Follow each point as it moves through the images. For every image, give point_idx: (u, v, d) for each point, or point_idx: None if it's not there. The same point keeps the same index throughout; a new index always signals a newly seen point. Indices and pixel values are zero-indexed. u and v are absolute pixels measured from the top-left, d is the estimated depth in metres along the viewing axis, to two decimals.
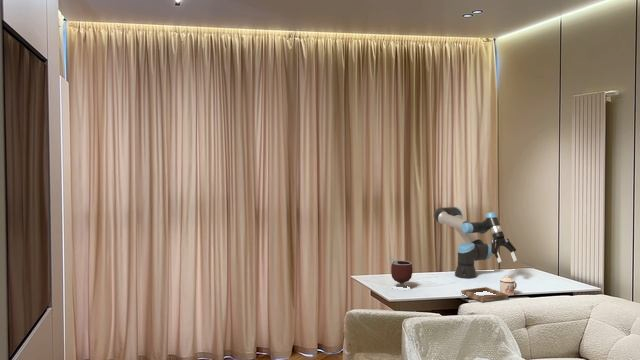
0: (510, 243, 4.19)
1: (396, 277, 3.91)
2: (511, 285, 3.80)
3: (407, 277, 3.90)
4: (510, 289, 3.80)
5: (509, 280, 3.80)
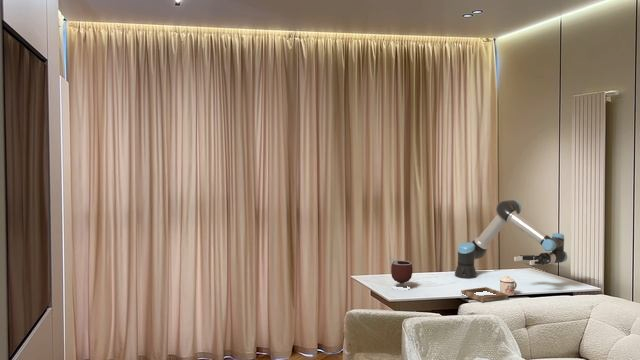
0: None
1: (396, 277, 3.91)
2: (511, 285, 3.80)
3: (407, 277, 3.90)
4: (510, 289, 3.80)
5: (509, 280, 3.80)
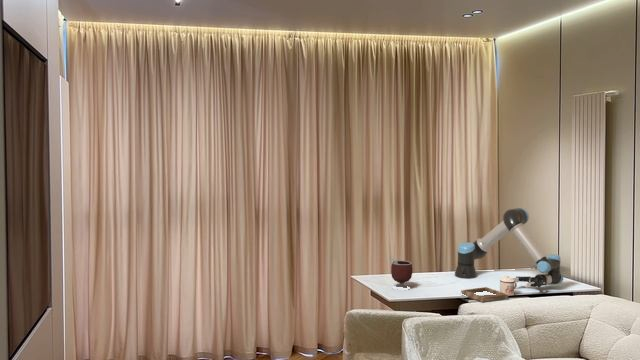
0: None
1: (396, 277, 3.91)
2: (511, 285, 3.80)
3: (407, 277, 3.90)
4: (510, 289, 3.80)
5: (509, 280, 3.80)
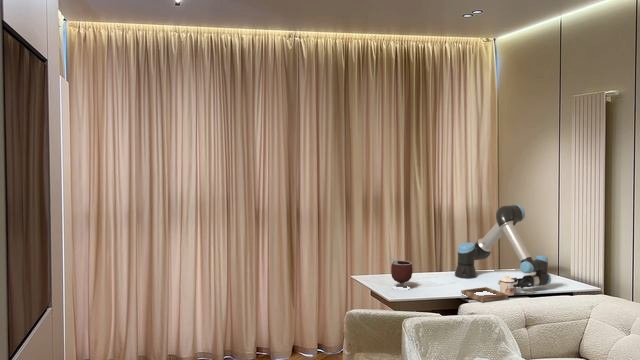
0: None
1: (396, 277, 3.91)
2: None
3: (407, 277, 3.90)
4: (511, 289, 3.80)
5: (509, 280, 3.80)
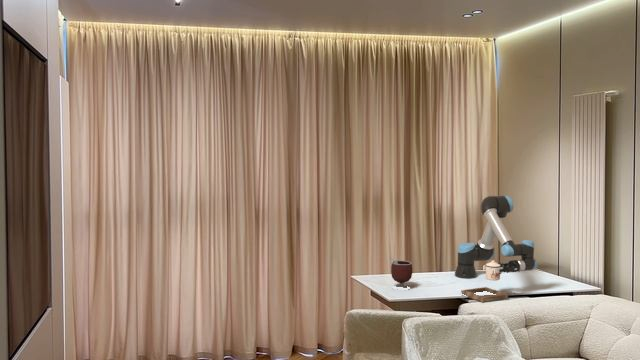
0: None
1: (396, 277, 3.91)
2: None
3: (407, 277, 3.90)
4: (496, 274, 3.72)
5: (495, 265, 3.72)
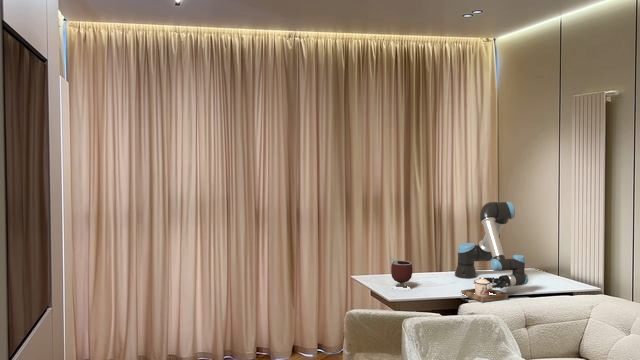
0: None
1: (396, 277, 3.91)
2: (486, 287, 3.71)
3: (407, 277, 3.90)
4: (486, 291, 3.72)
5: (484, 282, 3.72)
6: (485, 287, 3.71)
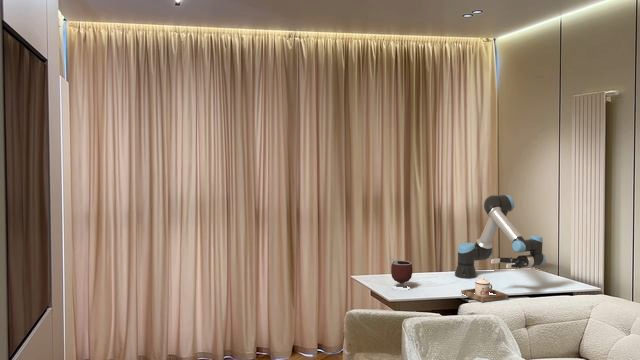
0: None
1: (396, 277, 3.91)
2: (486, 287, 3.71)
3: (407, 277, 3.90)
4: (486, 291, 3.71)
5: (484, 282, 3.72)
6: (485, 287, 3.71)
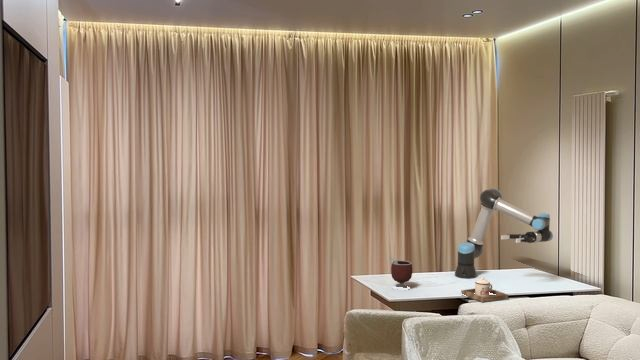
0: None
1: (396, 277, 3.91)
2: (486, 287, 3.71)
3: (407, 277, 3.90)
4: (486, 291, 3.71)
5: (484, 282, 3.72)
6: (485, 287, 3.71)
